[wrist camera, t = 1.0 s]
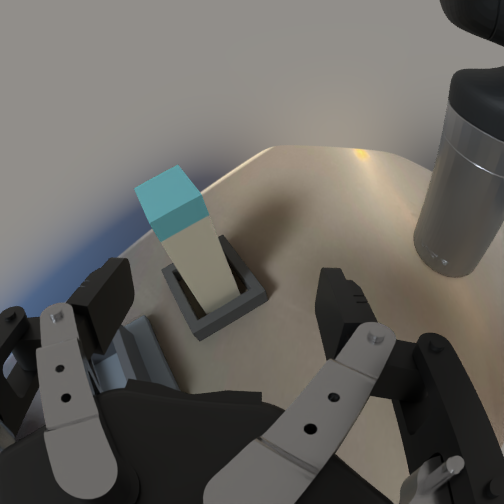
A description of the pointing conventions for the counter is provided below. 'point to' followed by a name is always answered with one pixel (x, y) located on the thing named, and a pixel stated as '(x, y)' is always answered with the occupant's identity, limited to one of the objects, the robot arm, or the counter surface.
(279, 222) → the counter surface
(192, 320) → the gray square frame
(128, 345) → the port
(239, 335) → the counter surface
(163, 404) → the robot arm
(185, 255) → the plug
